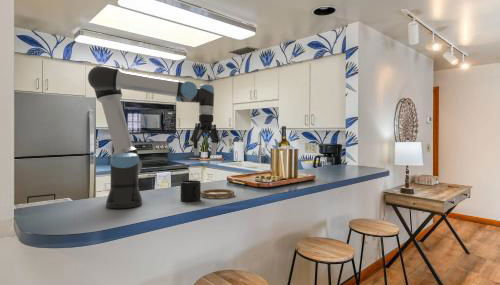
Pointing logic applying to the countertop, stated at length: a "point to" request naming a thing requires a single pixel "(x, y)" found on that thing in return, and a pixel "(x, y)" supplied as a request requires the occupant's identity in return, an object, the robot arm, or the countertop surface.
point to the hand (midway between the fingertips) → (205, 155)
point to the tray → (217, 193)
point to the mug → (190, 191)
